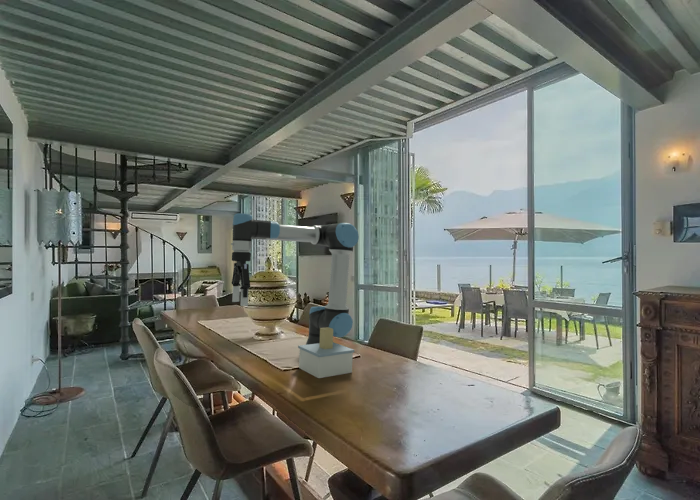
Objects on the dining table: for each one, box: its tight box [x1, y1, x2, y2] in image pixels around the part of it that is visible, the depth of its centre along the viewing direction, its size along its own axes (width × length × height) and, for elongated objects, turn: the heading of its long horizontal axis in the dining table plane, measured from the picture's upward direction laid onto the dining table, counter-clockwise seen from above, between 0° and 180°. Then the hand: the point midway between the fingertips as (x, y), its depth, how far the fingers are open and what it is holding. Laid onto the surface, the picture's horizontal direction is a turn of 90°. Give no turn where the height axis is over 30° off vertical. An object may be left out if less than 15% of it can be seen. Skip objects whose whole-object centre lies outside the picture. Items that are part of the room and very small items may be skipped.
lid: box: [297, 327, 355, 357], centre depth 159 cm, size 17×17×9 cm
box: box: [298, 349, 354, 379], centre depth 159 cm, size 16×16×9 cm
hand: (239, 303), depth 156 cm, fingers open, 13 cm apart
